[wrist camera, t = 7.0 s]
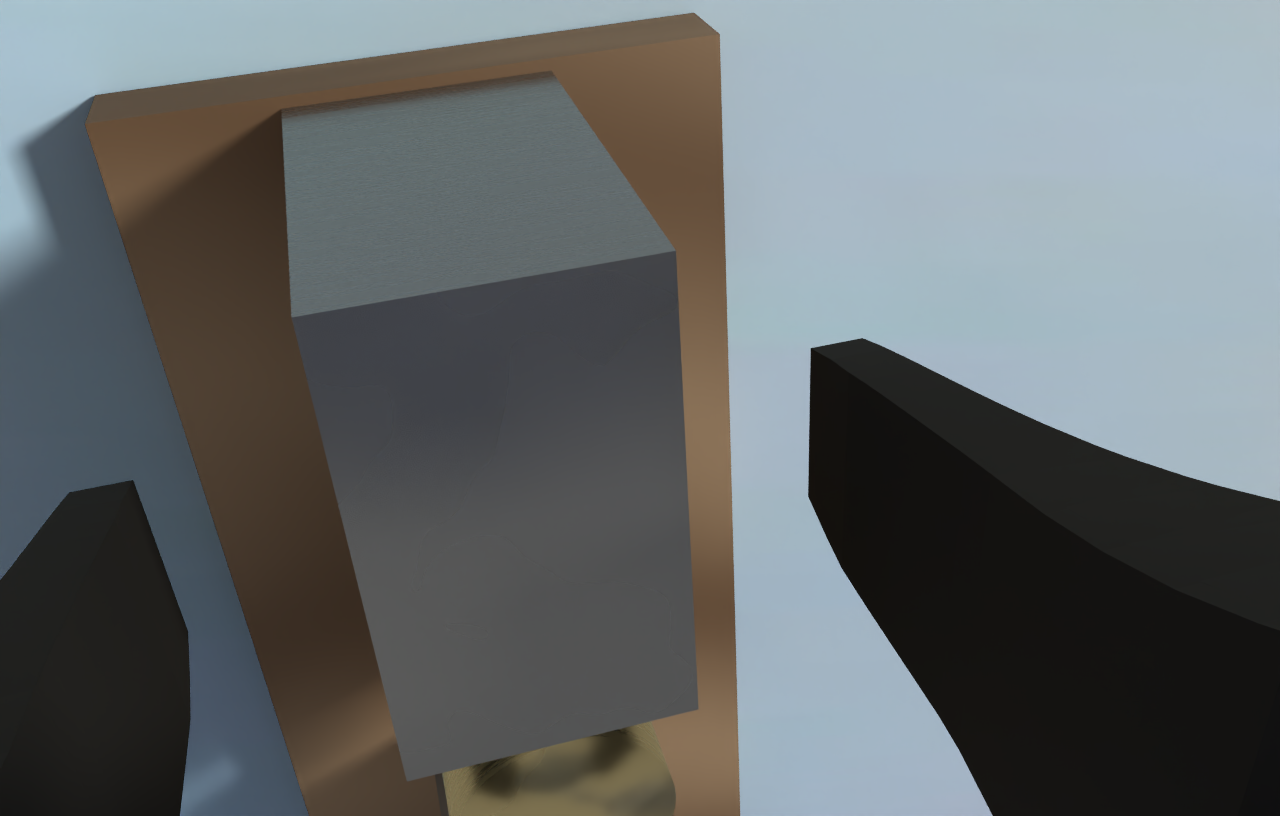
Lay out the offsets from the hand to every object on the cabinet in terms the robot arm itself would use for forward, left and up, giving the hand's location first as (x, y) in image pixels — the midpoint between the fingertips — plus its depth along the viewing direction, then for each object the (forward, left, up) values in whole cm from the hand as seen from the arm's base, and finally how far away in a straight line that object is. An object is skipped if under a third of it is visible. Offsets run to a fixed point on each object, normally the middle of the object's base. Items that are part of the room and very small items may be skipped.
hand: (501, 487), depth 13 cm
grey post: (0, 0, -3) cm, 3 cm away
